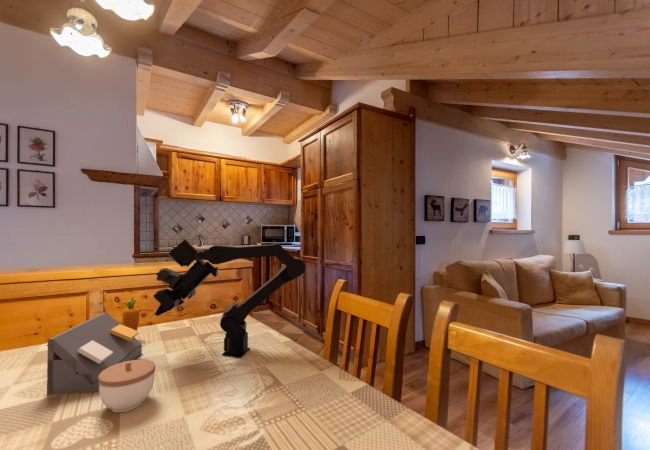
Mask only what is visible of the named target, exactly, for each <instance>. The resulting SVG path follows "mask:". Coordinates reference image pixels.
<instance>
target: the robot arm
mask: <svg viewBox="0 0 650 450" xmlns="http://www.w3.org/2000/svg"><path fill="white" fill-rule="evenodd" d="M167 256H169V257H170V259H172V260H173V261H174V262H175V263H176V264H178V265H179V266H180V267H181V268H183V267H187V268H188V269H186V271H185V272H184V273H179V272H177V271H175V270H172V269H171V268H168V267H164V268H161V269H159V271H158V272H157V273H156V274H155V275H156V278H155V280H157V281H158V282H163V283H166V284H168V285H167V287H168V288H162V289H159V290H157V291H156V292H155V293H154V294H153V295H152V296H153V299H155V300H156V302H158V303H160V304H159V306H158V307H157V309H156V311H155V312H154V315H155V316H156V317H158V316H161V315H162V314H163V315H164V314H165V313H167V312H170V311H172V310H174V309H176V308H177V307H179V306H181V305H182V304H184V303H185V301H184V300H185V299H188V300H190V299H192V298H193V297H194V296H195V295H197V294H196V293H197V292H196V289H197V288H199V287H200V286H201V284H203V282H204V281H206V279H207V278H208V277H209V276H210V275H212V276H213V277H214V278H217V276H218V275H219V266H214V265H221V264H225V263H228V262H232V261H235V260H239V259H240V260H241V259H252V258H264V257H265V258H266V257H275V258H277V259H278V260H279V261H280V262H281V263H283V265H282V266H281V268H280V269H279V270H278V272H276V274H274V275H273V277H271V278H270V279H269V280H267V281H266V282H265V283H264V284H263V285H261V286H260V287H259V288H257V290H255V291H254V292H253V293H251V294H250V295H249V296H248V297H247V298H246V299H244V300H242V301H240V302H238V303H237V301H236V300H234V301H233V302H232V303H231V304H230V305H228V306H226V307H225V308H224V311H223V313H222V315H221V317H220V322H219V326H220V328H221V330H222V331H224V332H225V337H224V339H223V353H221V354H222V356H223V357H231V358H232V357H233V358H243V356H245V355H246V354H247V353H248V352H249V351H250V350H251V348H250V347H249V332H247V321H246V319H247V318H248V316H249V315H250V313H251V312H253V310H255V309H256V308H257V307H258V306H260V305H261V304H262V303H263V302H264V301H265V300H267V299H268V298H269V297H270V296H271V295H273V294H274V293H275V292H277V290H279V289H280V288H281V287H282V286H283V285H285V284H287V283H289V282H291V281H293V280H296V279H297V278H299V277H301V276H302V275H303V274H304V273H305V271H306V263H305V261H303V260H302V259H301V258H299V257H297V256H293V255H292V254H290V253H289V252H288V251H287V250H286V249H284V247H283V246H282V245H281V244H280V243H276V242H275V243H273V244H260V245H259V244H257V245H246V246H233V245H225V244H224V245H223V244H216V245H211V246H210V247H209V248H208V249H201V250H199V249H197V248H196V247H195V246H194V245H192V243H191V242H190V241H188V239H183V241H181V242H180V243H178V244H177V245H176V246H174V247H173V248H172V249H171V250H170V251H169V252H168V254H167ZM193 262H194V263H193ZM192 263H193V264H192ZM189 266H190V267H189Z"/></svg>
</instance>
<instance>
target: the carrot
mask: <svg viewBox="0 0 650 450" xmlns="http://www.w3.org/2000/svg"><path fill="white" fill-rule="evenodd" d="M136 302H137V299H135V297H134V296H132V297H130V299H129V300H127V301H123V302H122V304H124V305H125V306H127V307H128V308H125V309H124V310H123V311H122V325H124V326H126V327H129V328H131V329H133V330H136V331H138V329H139V323H140V309H139V308H137V307H135V304H136Z"/></svg>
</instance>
